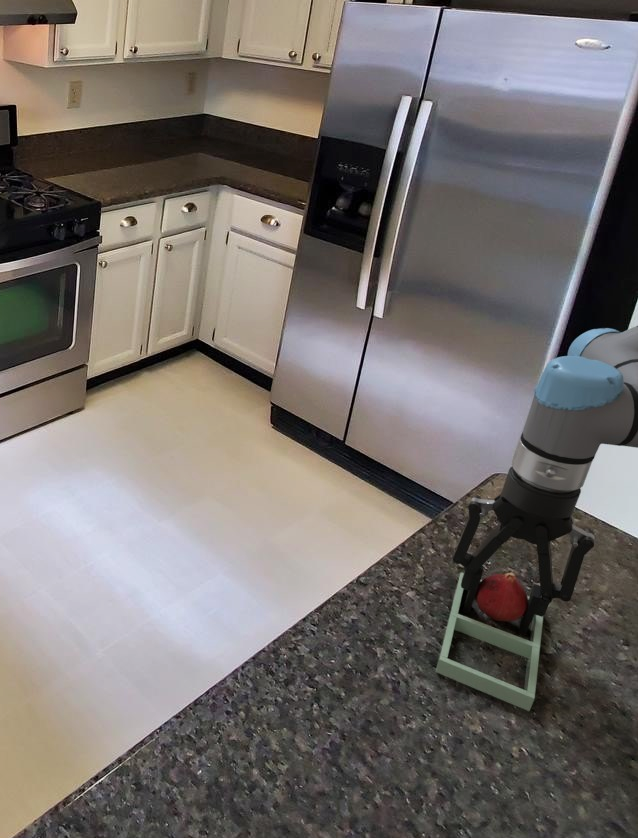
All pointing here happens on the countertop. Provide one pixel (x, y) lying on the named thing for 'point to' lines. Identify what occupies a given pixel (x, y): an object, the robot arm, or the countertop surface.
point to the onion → (502, 597)
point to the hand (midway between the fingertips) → (494, 617)
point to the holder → (500, 640)
